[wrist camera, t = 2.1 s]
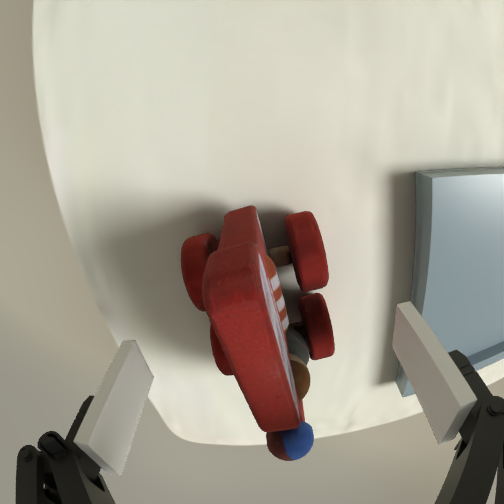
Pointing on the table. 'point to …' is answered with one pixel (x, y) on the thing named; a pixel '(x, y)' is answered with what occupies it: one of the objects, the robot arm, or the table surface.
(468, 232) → the tray
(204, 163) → the table surface
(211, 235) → the toy fire truck
